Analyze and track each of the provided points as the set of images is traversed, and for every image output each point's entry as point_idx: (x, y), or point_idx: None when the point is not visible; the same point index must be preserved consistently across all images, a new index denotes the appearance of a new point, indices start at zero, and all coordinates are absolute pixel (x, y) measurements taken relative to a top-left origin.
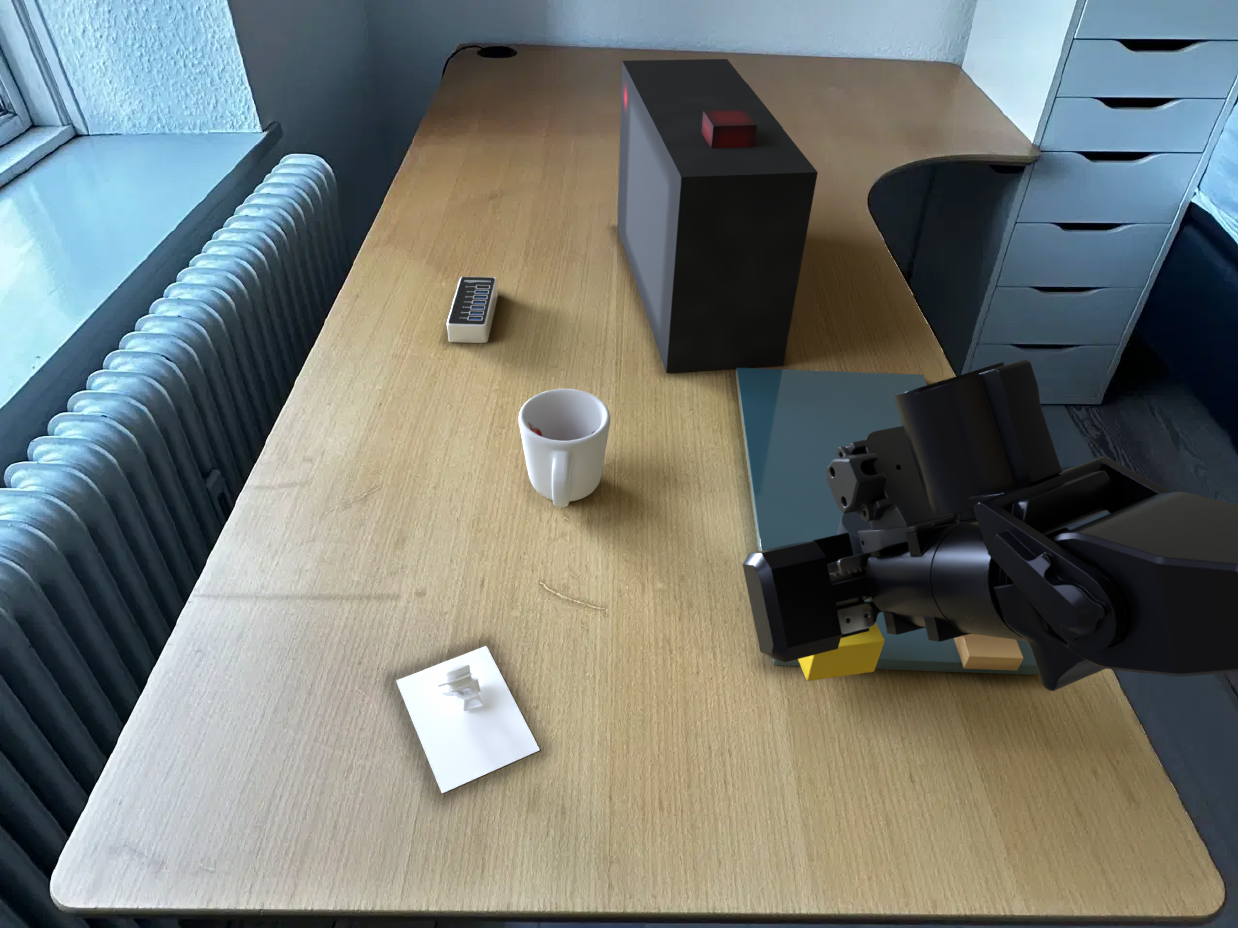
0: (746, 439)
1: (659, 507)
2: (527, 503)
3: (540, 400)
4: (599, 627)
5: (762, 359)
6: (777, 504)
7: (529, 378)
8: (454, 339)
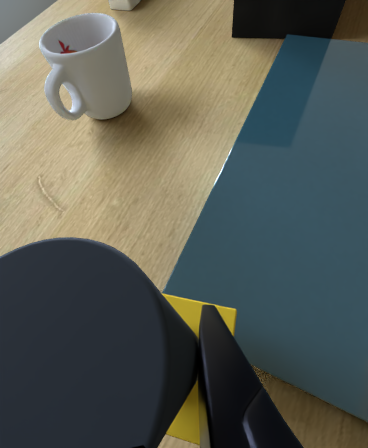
0: (259, 91)
1: (159, 136)
2: None
3: (76, 22)
4: (47, 225)
5: (313, 30)
6: (251, 153)
7: (139, 33)
8: (112, 6)
